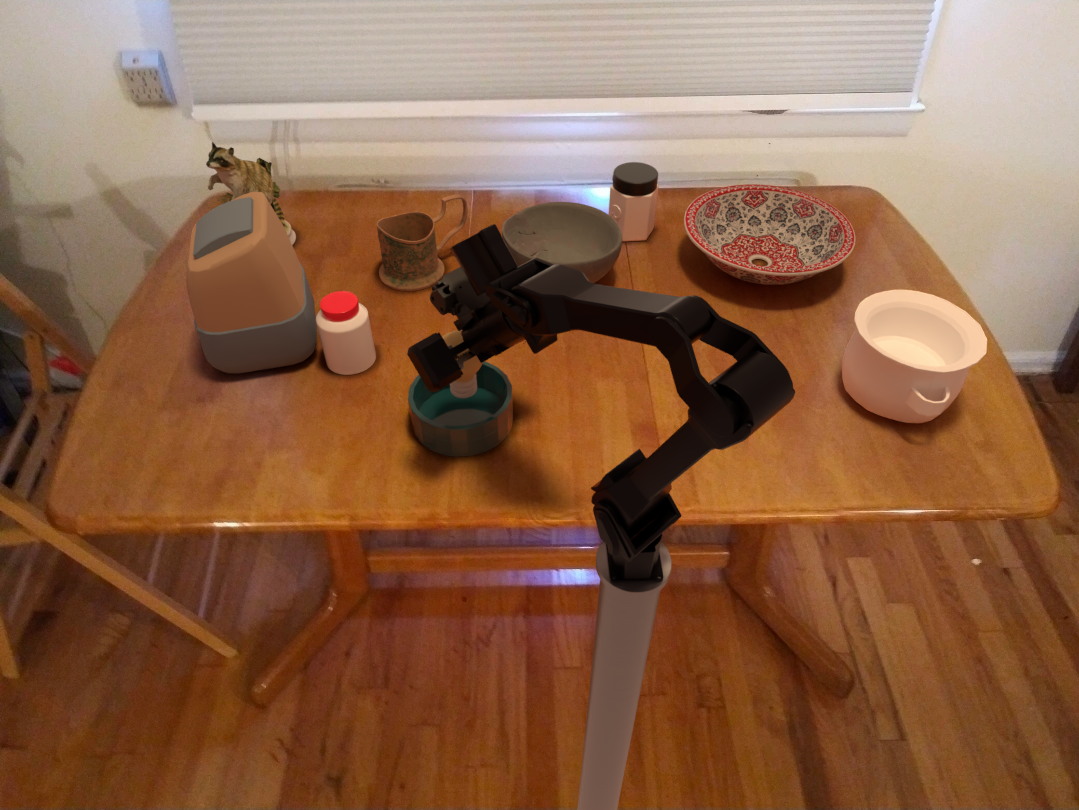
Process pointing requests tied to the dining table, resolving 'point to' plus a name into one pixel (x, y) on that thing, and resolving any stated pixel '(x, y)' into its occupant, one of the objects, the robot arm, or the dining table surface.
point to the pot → (910, 354)
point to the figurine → (245, 180)
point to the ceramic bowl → (768, 232)
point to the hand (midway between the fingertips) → (454, 351)
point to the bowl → (565, 237)
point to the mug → (413, 248)
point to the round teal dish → (463, 414)
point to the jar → (634, 199)
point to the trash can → (249, 289)
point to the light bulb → (468, 381)
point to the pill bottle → (345, 333)
